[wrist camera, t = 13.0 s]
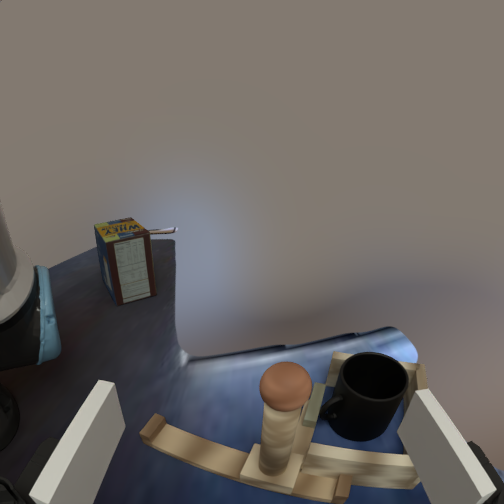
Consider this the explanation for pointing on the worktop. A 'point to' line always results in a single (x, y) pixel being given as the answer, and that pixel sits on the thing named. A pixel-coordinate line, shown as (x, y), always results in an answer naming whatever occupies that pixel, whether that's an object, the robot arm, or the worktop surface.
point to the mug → (365, 396)
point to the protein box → (125, 260)
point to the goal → (363, 462)
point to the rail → (234, 461)
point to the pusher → (283, 427)
